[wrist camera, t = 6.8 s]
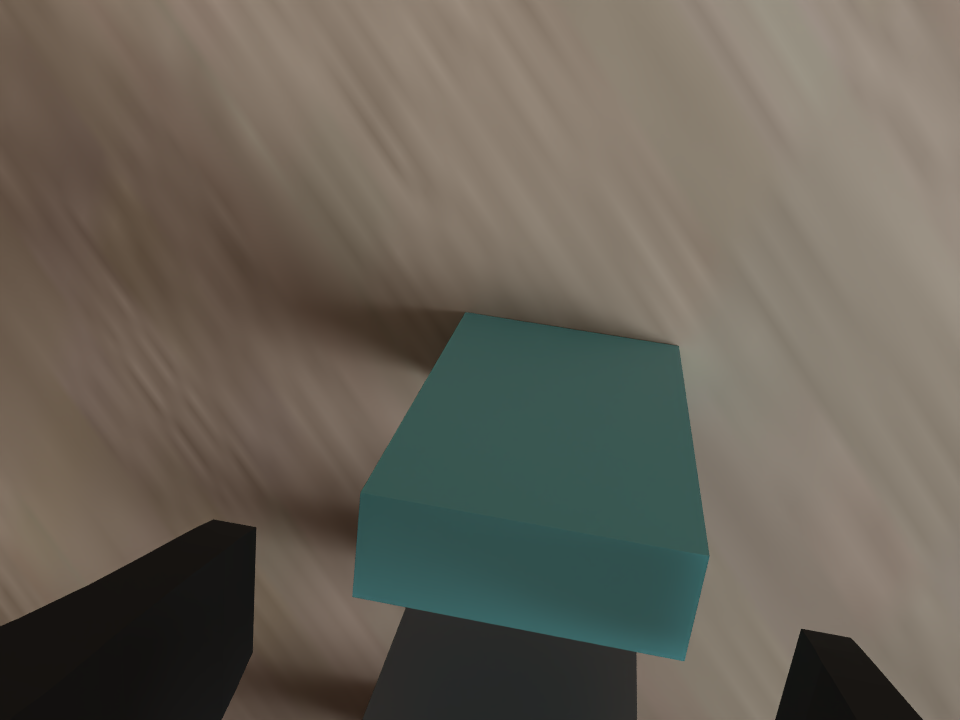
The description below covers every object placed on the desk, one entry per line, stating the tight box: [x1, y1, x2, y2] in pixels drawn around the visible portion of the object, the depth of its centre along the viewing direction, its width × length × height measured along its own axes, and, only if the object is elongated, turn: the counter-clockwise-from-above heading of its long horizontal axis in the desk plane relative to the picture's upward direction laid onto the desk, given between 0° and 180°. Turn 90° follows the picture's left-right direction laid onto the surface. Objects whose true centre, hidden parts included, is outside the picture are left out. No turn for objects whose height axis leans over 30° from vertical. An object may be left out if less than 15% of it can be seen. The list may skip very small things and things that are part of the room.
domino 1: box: [352, 312, 709, 661], centre depth 17 cm, size 2×5×9 cm, turn 83°
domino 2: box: [362, 607, 637, 720], centre depth 19 cm, size 2×5×9 cm, turn 84°
